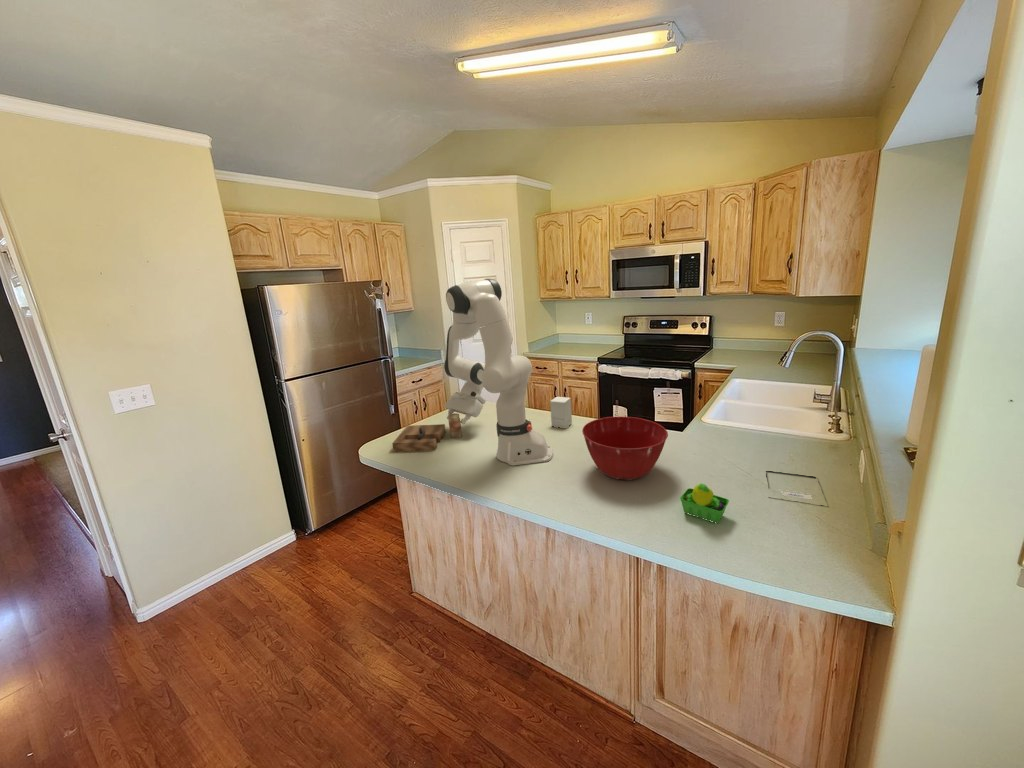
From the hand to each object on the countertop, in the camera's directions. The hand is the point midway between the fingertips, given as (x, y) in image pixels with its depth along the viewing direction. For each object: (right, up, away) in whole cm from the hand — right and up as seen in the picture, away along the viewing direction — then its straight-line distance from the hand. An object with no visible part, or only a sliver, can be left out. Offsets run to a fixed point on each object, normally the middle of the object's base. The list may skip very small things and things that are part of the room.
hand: (455, 421), depth 190 cm
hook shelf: (-15, -9, -2) cm, 18 cm away
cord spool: (0, -7, +1) cm, 7 cm away
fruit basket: (+80, -21, -70) cm, 108 cm away
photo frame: (+113, -16, -59) cm, 128 cm away
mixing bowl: (+65, -14, -41) cm, 78 cm away
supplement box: (+49, -2, +5) cm, 49 cm away
